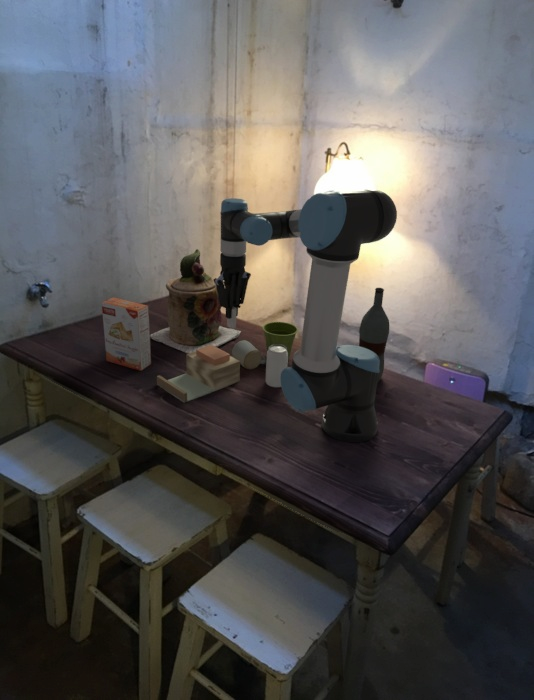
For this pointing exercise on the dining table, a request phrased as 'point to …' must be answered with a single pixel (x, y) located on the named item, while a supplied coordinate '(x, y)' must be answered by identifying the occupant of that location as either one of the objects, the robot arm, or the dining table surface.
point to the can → (275, 364)
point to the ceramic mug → (247, 355)
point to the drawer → (184, 387)
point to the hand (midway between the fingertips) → (231, 326)
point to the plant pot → (280, 334)
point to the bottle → (375, 329)
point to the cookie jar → (193, 310)
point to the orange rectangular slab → (213, 355)
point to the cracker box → (127, 333)
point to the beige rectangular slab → (213, 371)
